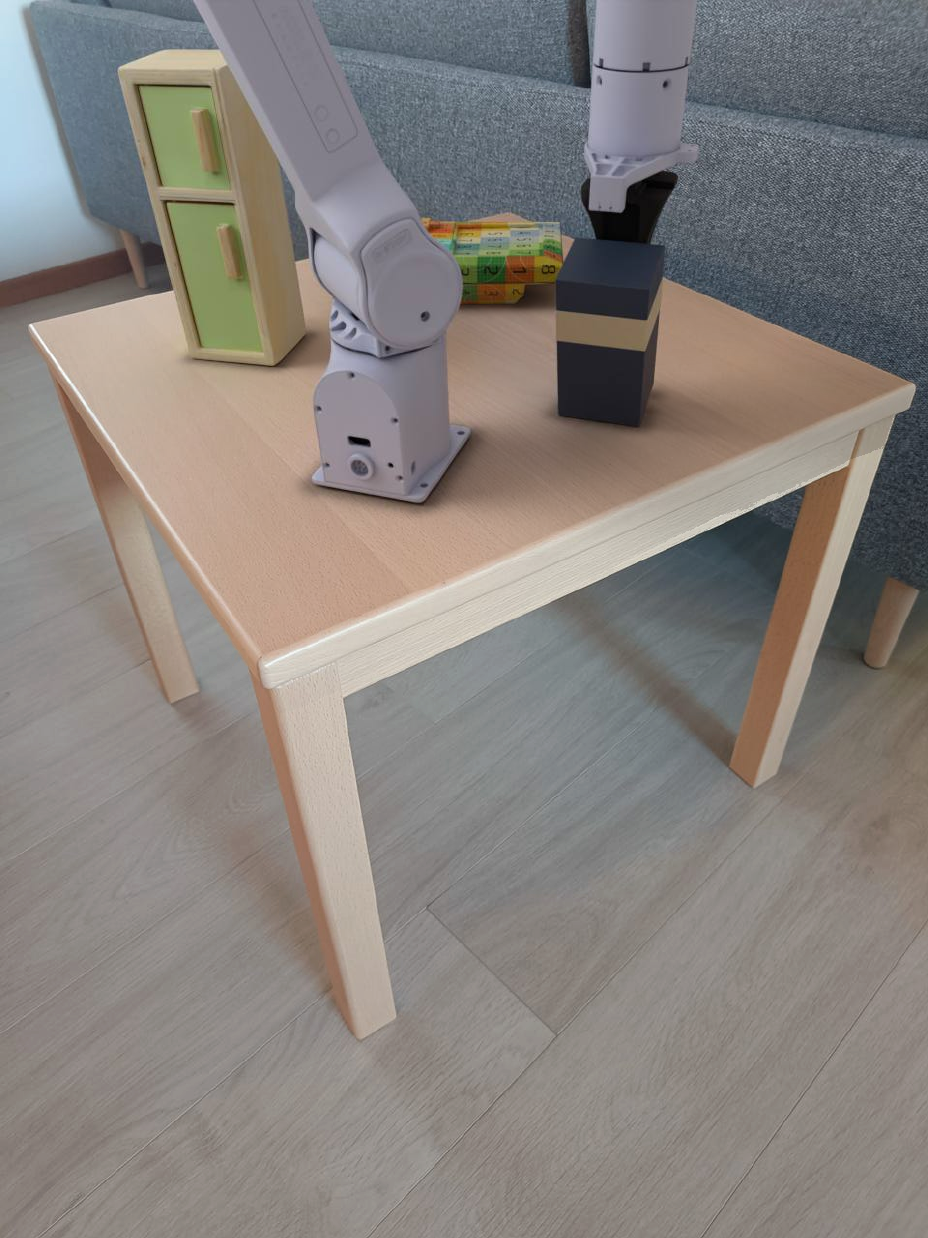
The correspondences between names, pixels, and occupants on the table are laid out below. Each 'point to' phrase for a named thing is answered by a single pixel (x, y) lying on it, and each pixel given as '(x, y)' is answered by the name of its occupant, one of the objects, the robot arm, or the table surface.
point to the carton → (607, 329)
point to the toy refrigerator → (215, 206)
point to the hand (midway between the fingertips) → (620, 290)
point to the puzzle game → (501, 256)
